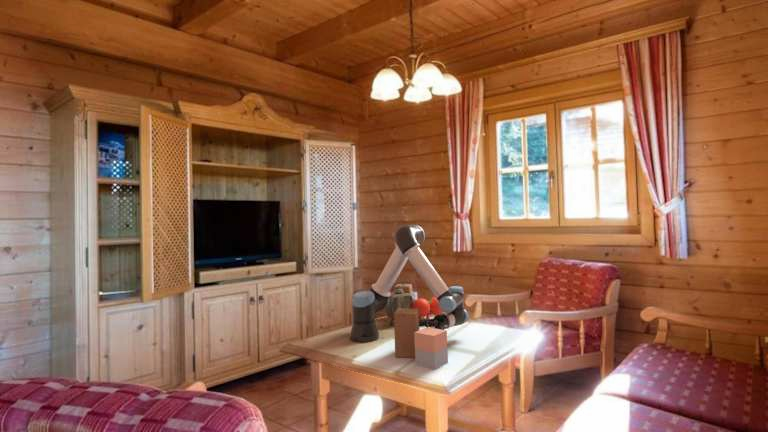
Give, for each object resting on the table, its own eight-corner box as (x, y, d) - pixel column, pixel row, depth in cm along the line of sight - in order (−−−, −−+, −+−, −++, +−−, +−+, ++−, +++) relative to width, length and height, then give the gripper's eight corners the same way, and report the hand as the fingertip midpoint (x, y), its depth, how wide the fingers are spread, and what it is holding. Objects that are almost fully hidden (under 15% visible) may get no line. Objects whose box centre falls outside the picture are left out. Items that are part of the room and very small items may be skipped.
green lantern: (394, 319, 271) (393, 286, 271) (397, 315, 281) (396, 283, 281) (410, 319, 269) (409, 286, 269) (413, 315, 279) (412, 283, 279)
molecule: (434, 317, 273) (439, 293, 270) (445, 325, 263) (450, 300, 260) (399, 320, 260) (404, 295, 257) (409, 329, 251) (414, 303, 247)
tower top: (414, 348, 191) (414, 332, 191) (427, 342, 198) (427, 327, 198) (434, 352, 184) (434, 335, 184) (447, 346, 192) (446, 330, 192)
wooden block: (417, 358, 199) (415, 313, 199) (394, 357, 201) (393, 313, 201) (419, 351, 209) (418, 308, 208) (398, 350, 211) (397, 308, 210)
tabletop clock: (404, 320, 268) (403, 278, 267) (414, 323, 261) (413, 280, 260) (385, 324, 259) (384, 281, 259) (395, 327, 252) (394, 283, 252)
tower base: (415, 364, 191) (415, 348, 191) (428, 358, 198) (428, 342, 198) (435, 369, 184) (434, 352, 184) (448, 362, 192) (447, 346, 192)
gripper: (463, 333, 210) (433, 343, 196) (425, 324, 229) (394, 332, 215) (463, 317, 210) (432, 326, 196) (425, 309, 229) (394, 317, 215)
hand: (412, 329), depth 206 cm, fingers open, 13 cm apart
